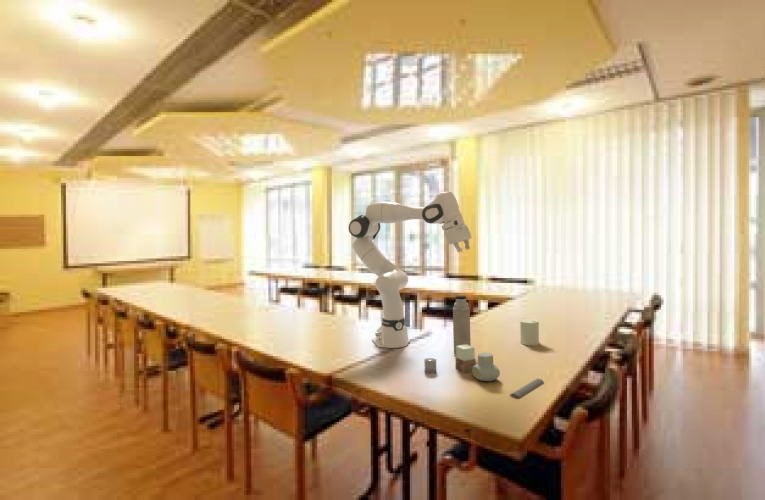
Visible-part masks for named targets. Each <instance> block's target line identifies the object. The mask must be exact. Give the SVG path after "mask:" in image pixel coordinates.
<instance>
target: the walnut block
mask: <svg viewBox="0 0 765 500" xmlns="http://www.w3.org/2000/svg"><path fill="white" fill-rule="evenodd" d="M476 364H477V363H476V358H475V359H471V360H467V361H463V360H461V359H459V358H456V357H455V369H456V370H457V369H458V371H460V372H461V373H463V374H464V373H465V374H466V373H470V372H472V368H473V367H474V366H475V365H476Z"/></svg>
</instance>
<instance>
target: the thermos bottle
mask: <svg viewBox="0 0 765 500" xmlns="http://www.w3.org/2000/svg"><path fill="white" fill-rule="evenodd" d="M470 314H471V311H470V307H469V303H468V302H467V296H466V295H457V296H455V302H454V304H453V307H452V324H453V325H452V329H453V333H452V334H453V336H452V337H453V354H454V355H455V356H456V346H459V345H465V344H467V345H470V346H472V345H471V315H470Z"/></svg>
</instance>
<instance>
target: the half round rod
mask: <svg viewBox="0 0 765 500" xmlns="http://www.w3.org/2000/svg"><path fill="white" fill-rule="evenodd" d="M544 384H545V383H544V380H543V379H541V378H536V379H534V380H532V381H530V382H529V383H527V384H526V385H524V386H522V387H520V388H519V389H517V390H515V391H514V392H512V393H510V394H509V395H510V396H509V397H513V398H517V399H522V398H523V397H525V396H526V395H528V394H530V393H531V392H533V391H534V390H536V389H538V388H539V387H540V386H542V385H544Z"/></svg>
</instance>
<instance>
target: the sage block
mask: <svg viewBox="0 0 765 500" xmlns="http://www.w3.org/2000/svg"><path fill="white" fill-rule="evenodd" d="M475 351H476V350H475V346H472V345H471V346H470V345H467V344H465V345H459V346H456V355H455V356H456V357H455V359H456V358H459V359H461V360H463V361H467V360H471V359H476V358H475V356H476V355H475V354H476V353H475Z"/></svg>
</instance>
